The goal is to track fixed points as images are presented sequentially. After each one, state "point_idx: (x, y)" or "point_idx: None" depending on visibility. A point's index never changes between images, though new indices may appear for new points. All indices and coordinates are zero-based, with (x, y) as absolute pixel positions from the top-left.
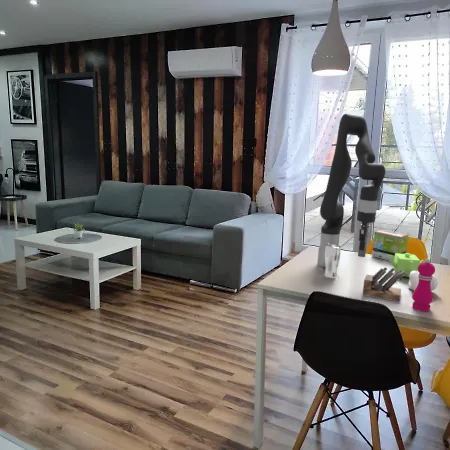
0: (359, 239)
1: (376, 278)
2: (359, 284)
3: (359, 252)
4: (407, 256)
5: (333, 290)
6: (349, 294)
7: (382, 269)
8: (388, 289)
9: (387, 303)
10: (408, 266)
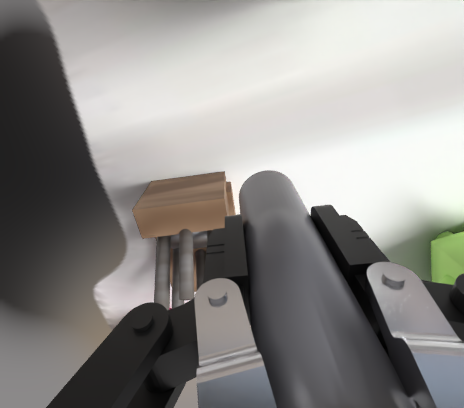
0: (112, 339)
1: (157, 258)
2: (265, 137)
3: (245, 200)
4: None
5: (99, 59)
6: (111, 139)
7: (181, 299)
8: None
9: (133, 259)
10: None
